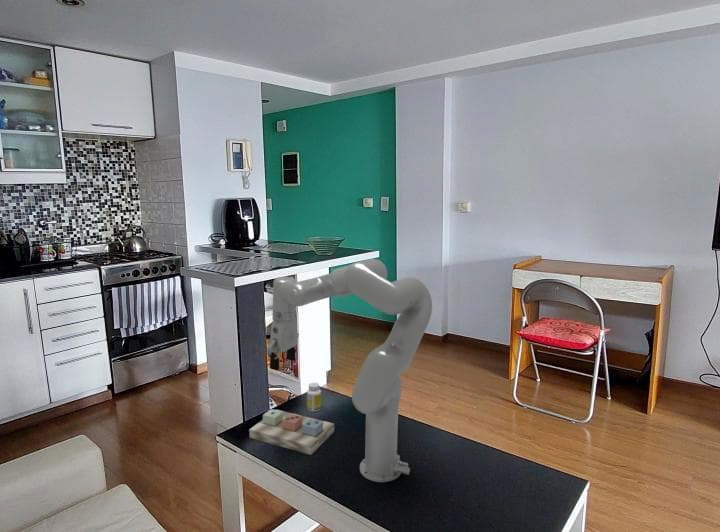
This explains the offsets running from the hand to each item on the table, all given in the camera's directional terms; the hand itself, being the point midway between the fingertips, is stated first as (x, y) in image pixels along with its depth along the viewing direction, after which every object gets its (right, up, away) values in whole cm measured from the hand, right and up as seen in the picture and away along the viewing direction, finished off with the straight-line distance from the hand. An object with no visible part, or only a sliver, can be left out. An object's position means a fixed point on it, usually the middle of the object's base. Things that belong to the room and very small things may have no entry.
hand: (282, 364), depth 153 cm
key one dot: (-5, -22, +8) cm, 23 cm away
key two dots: (+10, -23, +1) cm, 25 cm away
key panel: (+2, -25, +5) cm, 26 cm away
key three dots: (+3, -22, +4) cm, 23 cm away
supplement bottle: (+8, -23, +24) cm, 34 cm away
